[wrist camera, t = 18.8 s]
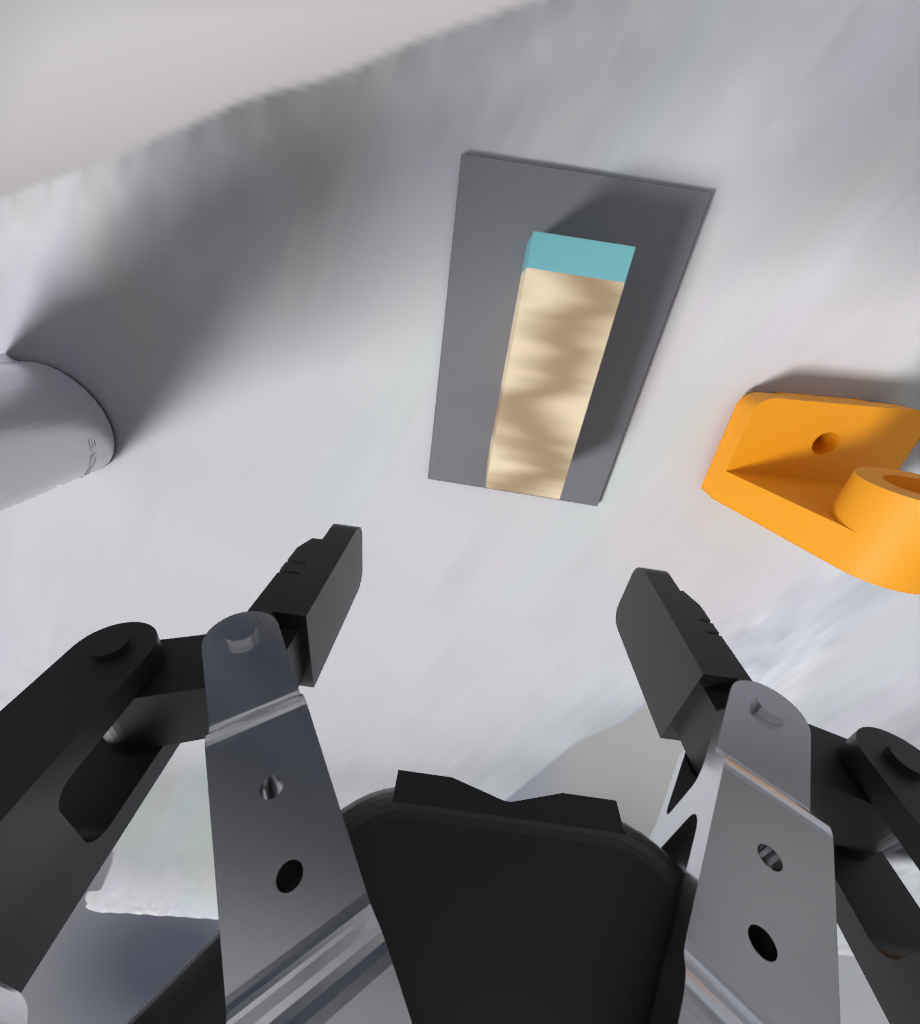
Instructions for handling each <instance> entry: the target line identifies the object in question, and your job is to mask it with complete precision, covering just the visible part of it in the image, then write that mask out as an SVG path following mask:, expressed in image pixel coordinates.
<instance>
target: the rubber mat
mask: <svg viewBox="0 0 920 1024" xmlns="http://www.w3.org/2000/svg"><path fill="white" fill-rule="evenodd" d="M710 196H711V192H704V191H698V190H691V189H685V188H679V187H672V186H666V185H659V184H653V183H646V182H640V181H634V180H627V179H621V178H614V177H608V176H602V175H595V174H589V173H582V172H576V171H569V170H563V169H557V168H550V167H544V166H537V165H531V164H525V163H518V162H512V161H505V160H499V159H492V158H486V157H480V156H473V155H467V154H462V157H461V166H460V176H459V185H458V195H457V205H456V214H455V224H454V233H453V243H452V253H451V262H450V272H449V281H448V291H447V301H446V310H445V320H444V329H443V339H442V349H441V358H440V368H439V377H438V387H437V397H436V406H435V416H434V425H433V435H432V445H431V454H430V464H429V473H428V479H433V480H440V481H446V482H452V483H458V484H464V485H470V486H477V487H483V488H486V474H487V459H488V454H489V448H490V443H491V437H492V432H493V427H494V421H495V416H496V410H497V405H498V399H499V394H500V388H501V383H502V377H503V372H504V366H505V361H506V355H507V350H508V345H509V339H510V334H511V328H512V323H513V317H514V312H515V306H516V301H517V295H518V290H519V284H520V279H521V273H522V268H523V263H524V257H525V252H526V246H527V243H528V241H529V239H530V238H531V236H532V234H533V232H534V231H536V232H543V233H549V234H556V235H562V236H569V237H575V238H582V239H588V240H595V241H601V242H608V243H614V244H621V245H627V246H634V247H636V248H635V251H634V254H633V258H632V261H631V264H630V267H629V271H628V274H627V277H626V281H625V284H624V287H623V291H622V294H621V297H620V301H619V304H618V307H617V311H616V314H615V317H614V320H613V324H612V327H611V330H610V334H609V337H608V340H607V344H606V347H605V350H604V354H603V357H602V360H601V363H600V367H599V370H598V373H597V377H596V380H595V383H594V387H593V390H592V393H591V397H590V400H589V403H588V407H587V410H586V413H585V416H584V420H583V423H582V426H581V430H580V433H579V436H578V440H577V443H576V446H575V450H574V453H573V456H572V460H571V463H570V466H569V469H568V473H567V476H566V479H565V483H564V486H563V489H562V493H561V496H560V499H557V500H563V501H569V502H575V503H581V504H588V505H594V506H597V505H598V503H599V500H600V497H601V494H602V492H603V489H604V486H605V483H606V481H607V478H608V475H609V472H610V470H611V467H612V464H613V462H614V459H615V456H616V453H617V451H618V448H619V445H620V442H621V440H622V437H623V434H624V431H625V429H626V426H627V423H628V420H629V418H630V415H631V412H632V410H633V407H634V404H635V401H636V399H637V396H638V393H639V390H640V388H641V385H642V382H643V379H644V377H645V374H646V371H647V368H648V366H649V363H650V360H651V358H652V355H653V352H654V349H655V347H656V344H657V341H658V338H659V336H660V333H661V330H662V327H663V325H664V322H665V319H666V316H667V314H668V311H669V308H670V305H671V303H672V300H673V297H674V295H675V292H676V289H677V286H678V284H679V281H680V278H681V275H682V273H683V270H684V267H685V264H686V262H687V259H688V256H689V253H690V251H691V248H692V245H693V243H694V240H695V237H696V234H697V232H698V229H699V226H700V223H701V221H702V218H703V215H704V212H705V210H706V207H707V204H708V201H709V199H710ZM489 489H491V488H489ZM495 490H498V489H495ZM501 491H504V490H501ZM507 492H510V491H507ZM514 493H516V492H514ZM520 494H523V493H520ZM526 495H529V494H526ZM532 496H535V495H532ZM538 497H541V496H538ZM544 498H548V497H544ZM551 499H554V498H551Z"/></svg>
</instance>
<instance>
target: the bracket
mask: <svg viewBox="0 0 920 1024" xmlns="http://www.w3.org/2000/svg"><path fill="white" fill-rule="evenodd" d="M919 439H920V411H919V410H915V409H911V408H908V407H904V406H900V405H896V404H888V403H877V402H868V401H864V400H860V399H851V398H840V397H829V396H817V395H806V394H795V393H783V392H774V393H763V392H753V393H749V394H747V395H745V396H744V397H743V398H741V399H740V401H739V402H738V403H737V405H736V407H735V409H734V412H733V414H732V416H731V419H730V421H729V423H728V426H727V428H726V430H725V433H724V435H723V437H722V440H721V442H720V444H719V447H718V449H717V451H716V454H715V456H714V458H713V461H712V463H711V465H710V468H709V470H708V472H707V475H706V477H705V479H704V482H703V484H702V486H701V488H702V489H703V490H704V491H705V492H706V493H707V494H708V495H710V496H711V497H712V498H713V499H714V500H716V501H718V502H720V503H722V504H723V505H725V506H727V507H729V508H731V509H732V510H734V511H736V512H738V513H740V514H741V515H743V516H745V517H747V518H748V519H750V520H752V521H754V522H756V523H757V524H759V525H761V526H763V527H765V528H766V529H768V530H770V531H772V532H774V533H775V534H777V535H779V536H781V537H783V538H784V539H786V540H788V541H790V542H791V543H793V544H795V545H797V546H799V547H800V548H802V549H804V550H806V551H808V552H809V553H811V554H813V555H815V556H817V557H818V558H820V559H822V560H824V561H826V562H827V563H829V564H831V565H833V566H834V567H836V568H838V569H840V570H842V571H844V572H846V573H848V574H850V575H852V576H855V577H857V578H859V579H862V580H864V581H867V582H869V583H872V584H875V585H878V586H881V587H884V588H888V589H891V590H895V591H900V592H904V593H910V594H920V475H919V474H915V473H910V472H905V471H900V470H898V469H899V468H900V466H901V465H902V464H903V462H904V461H905V459H906V458H907V456H908V455H909V454H910V452H911V451H912V449H913V448H914V446H915V445H916V444H917V442H918V441H919Z"/></svg>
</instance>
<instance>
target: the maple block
mask: <svg viewBox="0 0 920 1024" xmlns="http://www.w3.org/2000/svg"><path fill="white" fill-rule="evenodd" d="M635 248H636V247H634V246H627V245H621V244H614V243H608V242H601V241H595V240H588V239H582V238H575V237H569V236H562V235H556V234H549V233H543V232H536V231H534V232H533V234H532V236H531V238H530V239H529V241H528V243H527V246H526V252H525V257H524V263H523V268H522V273H521V279H520V284H519V290H518V295H517V301H516V306H515V312H514V317H513V323H512V328H511V334H510V339H509V345H508V350H507V355H506V361H505V366H504V372H503V377H502V383H501V388H500V394H499V399H498V405H497V410H496V416H495V421H494V427H493V432H492V437H491V443H490V448H489V454H488V459H487V474H486V488H491V489H498V490H504V491H510V492H516V493H523V494H529V495H535V496H541V497H548V498H554V499H560V496H561V493H562V489H563V486H564V483H565V479H566V476H567V473H568V469H569V466H570V463H571V460H572V456H573V453H574V450H575V446H576V443H577V440H578V436H579V433H580V430H581V426H582V423H583V420H584V416H585V413H586V410H587V407H588V403H589V400H590V397H591V393H592V390H593V387H594V383H595V380H596V377H597V373H598V370H599V367H600V363H601V360H602V357H603V354H604V350H605V347H606V344H607V340H608V337H609V334H610V330H611V327H612V324H613V320H614V317H615V314H616V311H617V307H618V304H619V301H620V297H621V294H622V291H623V287H624V284H625V281H626V277H627V274H628V271H629V267H630V264H631V261H632V258H633V254H634V251H635Z"/></svg>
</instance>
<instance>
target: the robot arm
mask: <svg viewBox="0 0 920 1024" xmlns="http://www.w3.org/2000/svg"><path fill="white" fill-rule="evenodd" d="M114 446H115V443H114V435H113V432H112V429H111V426H110V423H109V421H108V419H107V417H106V415H105V413H104V412H103V410H102V409H101V407H100V406H99V405H98V403H97V402H96V401H95V399H94V398H93V397H92V396H91V395H90V394H89V393H88V392H87V391H86V390H85V389H84V388H83V387H82V386H81V385H79V384H78V383H77V382H76V381H74V380H73V379H72V378H70V377H69V376H67V375H65V374H64V373H62V372H61V371H59V370H57V369H54V368H52V367H50V366H47V365H44V364H40V363H36V362H25V361H17V360H14V359H12V358H11V357H9V356H7V355H6V354H4V353H2V354H0V511H1V510H4V509H6V508H8V507H11V506H13V505H15V504H18V503H20V502H23V501H25V500H27V499H30V498H32V497H34V496H37V495H39V494H42V493H44V492H46V491H49V490H51V489H53V488H56V487H58V486H61V485H63V484H65V483H68V482H70V481H72V480H75V479H77V478H81V477H83V476H86V475H87V474H89V473H91V472H93V471H96V470H98V469H100V468H102V467H104V466H105V465H106V464H107V463H109V462H110V460H111V458H112V456H113V454H114ZM361 577H362V530H361V528H360V527H354V526H347V525H340V524H333V525H332V527H331V528H330V529H329V531H328V532H327V534H326V535H325V536H324V538H323V539H315V538H312V539H311V540H309V541H307V542H306V543H304V544H302V545H301V546H299V547H297V549H296V550H295V551H294V552H293V554H292V555H291V556H290V558H289V559H288V562H286V563H285V564H284V565H283V567H282V568H281V569H280V572H279V573H277V574H276V575H275V577H274V578H273V579H272V581H271V582H270V583H269V584H268V586H267V587H266V588H265V590H264V591H263V592H262V593H261V595H260V596H259V597H258V598H257V600H256V601H255V602H254V604H253V605H252V606H251V607H250V609H249V610H248V611H247V612H242V613H237V614H234V615H232V616H229V617H227V618H225V619H223V620H221V621H220V622H218V623H217V624H216V625H214V626H213V627H212V628H211V629H210V630H209V631H208V632H207V634H204V635H198V636H189V637H181V638H172V639H163V640H160V639H159V637H158V634H157V632H156V630H155V629H154V627H152V626H151V625H149V624H146V623H141V622H127V623H121V624H116V625H112V626H109V627H106V628H103V629H101V630H99V631H96V632H94V633H92V634H90V635H89V636H87V637H85V638H84V639H82V640H81V641H79V642H78V643H77V644H75V645H74V646H73V647H72V648H71V649H70V650H68V651H67V652H66V653H65V654H64V655H63V656H62V657H61V658H59V659H58V660H57V661H56V662H55V663H54V664H53V665H52V666H50V667H49V668H48V669H47V670H46V671H45V672H44V673H43V674H41V675H40V676H39V677H38V678H37V679H36V680H35V681H34V682H33V683H31V684H30V685H29V686H28V687H27V688H26V689H25V690H24V691H22V692H21V693H20V694H19V695H18V696H17V697H16V698H15V699H13V700H12V701H11V702H10V703H9V704H8V705H7V706H6V707H4V708H3V709H2V710H1V711H0V1024H27V1020H28V1013H27V1012H28V1011H27V1005H26V1002H25V999H24V998H23V996H22V995H21V994H20V993H21V992H22V990H23V989H24V987H25V986H26V984H27V983H28V981H29V979H30V978H31V976H32V975H33V973H34V972H35V970H36V968H37V967H38V965H39V964H40V962H41V961H42V959H43V957H44V956H45V954H46V953H47V951H48V949H49V948H50V946H51V945H52V943H53V942H54V940H55V938H56V937H57V935H58V934H59V932H60V931H61V929H62V928H63V926H64V924H65V923H66V921H67V920H68V918H69V916H70V915H71V913H72V912H73V910H74V909H75V907H76V905H77V904H78V902H79V901H80V899H81V898H82V896H83V895H84V893H85V892H86V890H87V888H88V887H89V885H90V883H91V882H92V880H93V879H94V877H95V876H96V874H97V873H98V871H99V870H100V868H101V866H102V865H103V863H104V862H105V860H106V858H107V857H108V855H109V854H110V852H111V851H112V849H113V848H114V846H115V844H116V843H117V841H118V840H119V838H120V837H121V835H122V833H123V832H124V830H125V829H126V827H127V826H128V824H129V822H130V821H131V819H132V818H133V816H134V815H135V813H136V811H137V810H138V808H139V807H140V805H141V804H142V802H143V800H144V799H145V797H146V796H147V794H148V793H149V791H150V790H151V788H152V786H153V785H154V783H155V782H156V780H157V779H158V777H159V775H160V774H161V772H162V771H163V769H164V768H165V766H166V764H167V763H168V761H169V760H170V758H171V757H172V755H173V753H174V752H175V750H176V749H177V747H178V746H179V744H180V743H183V742H188V741H194V740H199V739H205V756H206V768H207V781H208V793H209V805H210V817H211V830H212V842H213V854H214V866H215V879H216V891H217V903H218V916H219V927H220V929H219V930H218V931H217V932H216V933H215V934H214V936H212V938H210V939H209V940H208V942H207V943H205V944H204V945H203V946H202V947H201V949H199V951H197V953H196V954H195V955H194V956H193V957H192V958H191V959H190V960H189V961H188V962H187V963H186V964H185V965H184V966H183V967H182V968H181V969H180V970H179V971H178V972H177V973H176V974H175V975H174V976H173V977H172V978H171V979H170V980H169V981H168V982H167V983H166V984H165V985H164V986H163V987H162V988H161V989H160V990H159V991H158V992H157V993H156V994H155V995H154V996H153V997H152V998H151V999H150V1000H149V1001H148V1002H147V1003H146V1004H145V1005H144V1006H143V1007H142V1008H141V1009H140V1010H139V1011H138V1012H137V1013H136V1014H135V1015H134V1016H133V1017H132V1018H131V1019H130V1020H129V1021H128V1022H127V1023H126V1024H840V999H839V973H838V946H837V923H838V925H839V927H840V929H841V931H842V933H843V935H844V937H845V939H846V941H847V942H848V944H849V946H850V948H851V950H852V952H853V954H854V956H855V958H856V960H857V962H858V964H859V966H860V967H861V969H862V971H863V973H864V975H865V977H866V979H867V981H868V983H869V985H870V987H871V989H872V990H873V992H874V994H875V996H876V998H877V1000H878V1002H879V1004H880V1006H881V1008H882V1009H883V1011H884V1013H885V1015H886V1017H887V1019H888V1021H889V1023H890V1024H920V908H919V906H918V905H917V903H916V902H915V900H914V899H913V897H912V896H911V894H910V893H909V891H908V890H907V888H906V887H905V885H904V884H903V882H902V881H901V879H900V878H899V876H898V875H897V874H896V872H895V871H894V869H893V868H892V866H891V865H890V863H889V862H888V860H887V859H886V857H885V856H884V854H883V853H882V850H884V849H885V848H887V847H889V846H890V845H892V844H893V843H895V842H897V841H899V842H900V843H901V845H902V846H903V848H904V849H905V850H906V852H907V853H908V855H909V856H910V857H911V859H912V860H913V862H914V863H915V864H916V866H917V867H918V869H919V870H920V750H918V749H917V748H915V747H914V746H912V745H911V744H909V743H908V742H906V741H904V740H903V739H901V738H899V737H897V736H895V735H893V734H891V733H889V732H886V731H884V730H881V729H877V728H873V727H862V728H860V729H858V730H857V731H856V732H855V733H854V734H853V735H852V736H851V737H850V738H848V739H845V738H843V737H840V736H838V735H835V734H833V733H830V732H828V731H825V730H823V729H820V728H818V727H815V726H812V725H810V724H808V723H807V721H806V719H805V718H804V716H803V715H802V714H801V713H800V711H799V710H798V709H797V708H796V707H795V706H794V705H793V704H792V703H791V702H790V701H788V700H787V699H786V698H785V697H783V696H782V695H780V694H779V693H778V692H776V691H774V690H773V689H771V688H769V687H767V686H765V685H762V684H760V683H757V682H753V681H752V680H751V678H750V677H749V676H748V674H747V673H746V671H745V670H744V668H743V667H742V665H741V664H740V663H739V661H738V660H737V658H736V657H735V655H734V654H733V652H732V651H731V650H730V648H729V647H728V645H727V644H726V642H725V641H724V639H723V638H722V637H721V636H719V632H718V631H717V629H716V628H715V626H714V625H713V624H712V623H710V619H709V618H708V616H707V615H706V613H705V612H704V611H703V609H702V608H701V606H700V605H699V604H698V603H697V602H695V601H694V600H693V599H692V598H691V597H690V596H688V595H687V594H686V593H685V592H684V591H680V590H679V588H678V587H677V585H676V584H675V582H674V581H673V579H672V578H671V576H670V575H669V573H667V572H666V571H660V570H653V569H646V568H637V569H635V570H634V572H633V573H632V576H631V578H630V580H629V582H628V585H627V587H626V589H625V591H624V594H623V596H622V598H621V600H620V603H619V605H618V608H617V612H616V624H617V628H618V631H619V634H620V636H621V639H622V641H623V644H624V646H625V649H626V651H627V654H628V657H629V659H630V662H631V664H632V667H633V669H634V672H635V674H636V677H637V679H638V682H639V685H640V687H641V690H642V692H643V695H644V697H645V700H646V702H647V705H648V708H649V710H650V713H651V715H652V718H653V720H654V723H655V725H656V728H657V731H658V733H659V736H660V738H666V739H674V740H680V741H681V742H682V745H683V747H684V750H683V751H682V753H681V754H680V756H679V758H678V761H677V764H676V767H675V770H674V773H673V776H672V779H671V782H670V785H669V788H668V791H667V794H666V797H665V800H664V803H663V806H662V809H661V812H660V815H659V818H658V821H657V823H656V825H655V828H654V830H653V832H652V834H651V835H650V837H649V838H647V837H646V836H644V835H643V834H642V833H641V832H639V831H637V830H635V829H634V828H632V827H630V826H629V825H627V824H625V823H623V822H621V818H620V814H619V810H618V806H617V803H616V801H614V800H607V799H601V798H593V797H586V796H579V795H572V794H565V793H561V794H555V795H550V796H544V797H538V798H532V799H526V800H521V801H515V802H507V801H503V800H501V799H499V798H496V797H494V796H492V795H490V794H487V793H485V792H483V791H481V790H479V789H476V788H474V787H472V786H470V785H467V784H465V783H463V782H461V781H459V780H456V779H454V778H452V777H445V776H438V775H431V774H424V773H416V772H409V771H402V770H398V775H397V780H396V785H395V787H393V788H388V789H383V790H380V791H377V792H373V793H370V794H368V795H366V796H364V797H362V798H360V799H357V800H356V801H354V802H352V803H351V804H349V805H348V806H346V807H344V808H343V809H342V810H340V806H339V803H338V800H337V797H336V794H335V791H334V788H333V784H332V781H331V778H330V775H329V772H328V769H327V766H326V762H325V759H324V756H323V753H322V750H321V747H320V744H319V740H318V737H317V734H316V731H315V728H314V725H313V721H312V718H311V715H310V712H309V709H308V706H307V703H306V700H305V698H304V695H303V694H300V692H299V689H298V687H299V685H301V686H308V687H314V686H315V684H316V682H317V679H318V677H319V675H320V673H321V671H322V668H323V666H324V664H325V662H326V660H327V657H328V655H329V653H330V651H331V649H332V647H333V644H334V642H335V640H336V638H337V636H338V633H339V631H340V629H341V627H342V625H343V622H344V620H345V618H346V616H347V614H348V611H349V609H350V607H351V605H352V603H353V600H354V598H355V596H356V594H357V592H358V589H359V586H360V582H361Z"/></svg>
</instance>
